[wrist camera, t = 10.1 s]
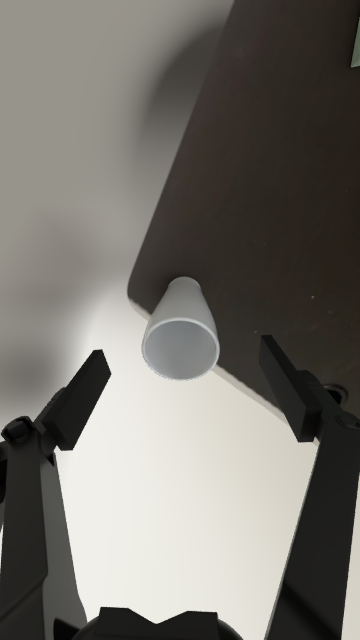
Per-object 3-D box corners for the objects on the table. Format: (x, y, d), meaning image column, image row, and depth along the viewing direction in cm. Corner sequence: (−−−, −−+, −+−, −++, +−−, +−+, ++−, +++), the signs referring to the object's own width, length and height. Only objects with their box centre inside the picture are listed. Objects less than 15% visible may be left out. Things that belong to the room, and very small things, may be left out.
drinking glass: (213, 278, 28) (234, 331, 15) (197, 317, 31) (203, 390, 18) (169, 264, 28) (150, 305, 14) (157, 305, 31) (132, 371, 17)
